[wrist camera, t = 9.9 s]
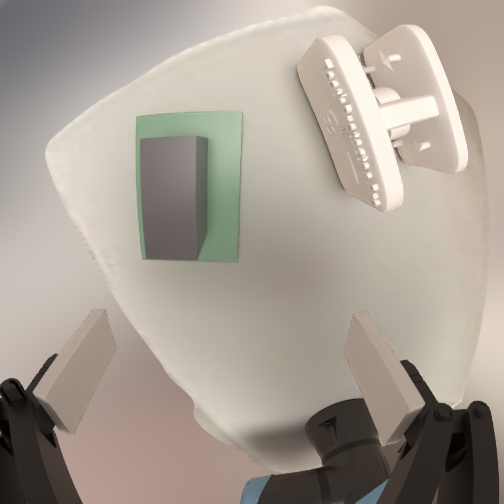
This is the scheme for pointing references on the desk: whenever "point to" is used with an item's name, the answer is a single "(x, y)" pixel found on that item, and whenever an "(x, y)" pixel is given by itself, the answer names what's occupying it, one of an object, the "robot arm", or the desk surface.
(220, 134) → the board
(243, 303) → the desk surface
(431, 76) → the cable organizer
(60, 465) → the robot arm
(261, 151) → the desk surface
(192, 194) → the block
